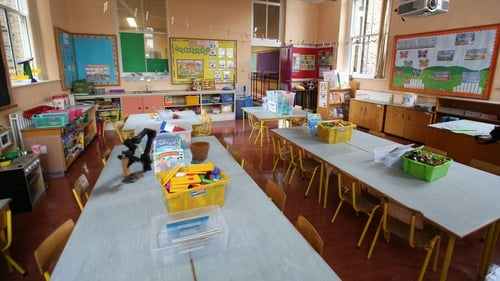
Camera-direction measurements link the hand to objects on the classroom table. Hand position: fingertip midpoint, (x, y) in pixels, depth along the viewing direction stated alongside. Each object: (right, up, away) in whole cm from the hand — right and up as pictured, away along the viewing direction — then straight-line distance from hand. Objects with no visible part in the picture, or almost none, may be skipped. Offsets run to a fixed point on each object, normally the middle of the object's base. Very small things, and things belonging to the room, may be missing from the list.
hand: (125, 167), depth 230 cm
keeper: (+2, -10, +11) cm, 16 cm away
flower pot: (+51, +4, +63) cm, 81 cm away
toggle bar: (0, -6, +3) cm, 7 cm away
